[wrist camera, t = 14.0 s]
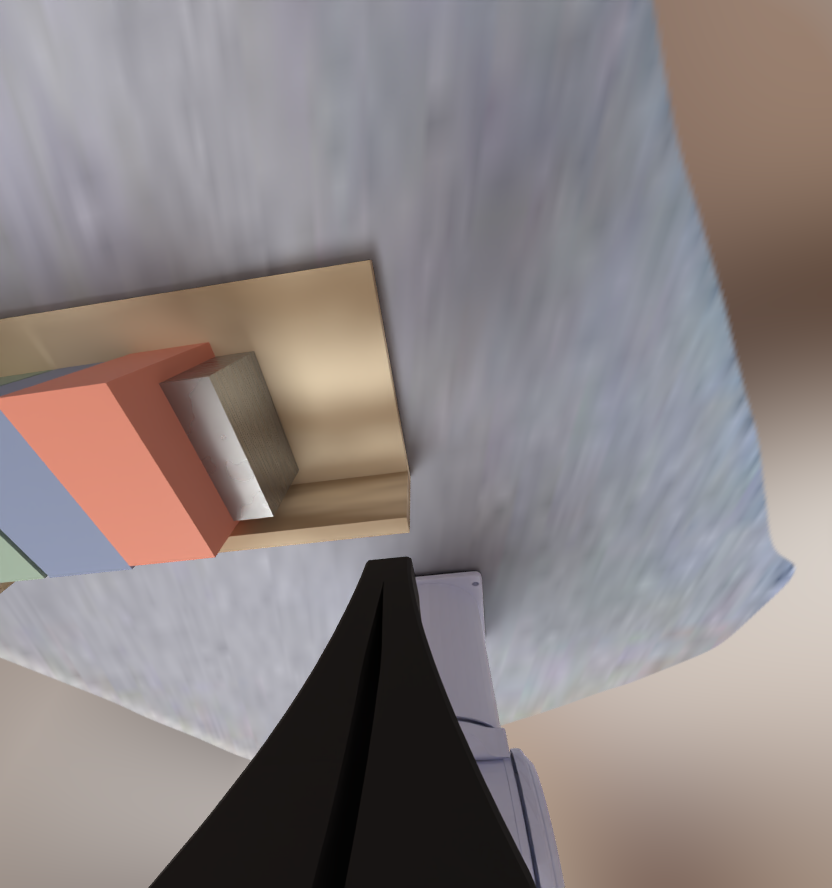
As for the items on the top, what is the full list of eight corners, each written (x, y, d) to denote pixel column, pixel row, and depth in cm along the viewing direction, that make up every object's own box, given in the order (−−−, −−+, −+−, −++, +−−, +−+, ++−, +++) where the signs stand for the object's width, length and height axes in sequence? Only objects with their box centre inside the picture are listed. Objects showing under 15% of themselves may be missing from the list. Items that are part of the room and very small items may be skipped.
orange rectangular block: (268, 477, 20) (215, 557, 14) (205, 485, 20) (129, 566, 15) (209, 341, 16) (105, 382, 10) (130, 353, 16) (-9, 399, 11)
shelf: (410, 477, 20) (409, 565, 15) (86, 514, 22) (-36, 609, 16) (371, 260, 15) (342, 259, 9) (-67, 330, 16) (-349, 370, 10)
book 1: (206, 487, 20) (132, 569, 15) (144, 495, 20) (50, 577, 15) (133, 357, 16) (-5, 404, 11) (57, 368, 16) (-113, 419, 11)
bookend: (299, 470, 19) (273, 516, 16) (266, 474, 19) (233, 521, 16) (254, 351, 16) (208, 376, 12) (214, 356, 16) (158, 383, 12)
